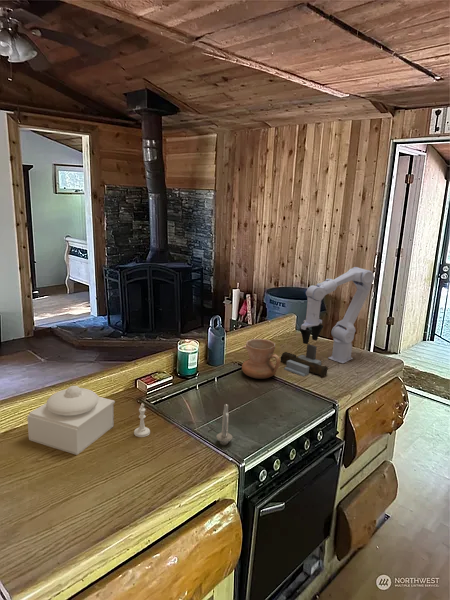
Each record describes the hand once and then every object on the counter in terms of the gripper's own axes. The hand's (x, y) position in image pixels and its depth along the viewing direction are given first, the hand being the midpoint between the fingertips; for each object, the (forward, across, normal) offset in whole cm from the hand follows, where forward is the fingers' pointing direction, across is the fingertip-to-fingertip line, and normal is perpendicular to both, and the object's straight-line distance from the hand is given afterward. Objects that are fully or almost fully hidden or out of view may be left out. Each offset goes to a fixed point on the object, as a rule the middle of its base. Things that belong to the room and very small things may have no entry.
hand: (310, 341), depth 197 cm
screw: (+11, +76, +18) cm, 79 cm away
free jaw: (+10, +3, +2) cm, 11 cm away
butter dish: (+11, +106, -18) cm, 108 cm away
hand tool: (+11, +8, +2) cm, 14 cm away
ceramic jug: (+11, +28, -6) cm, 30 cm away
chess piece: (+11, +91, -3) cm, 91 cm away
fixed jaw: (+10, +12, +2) cm, 16 cm away
